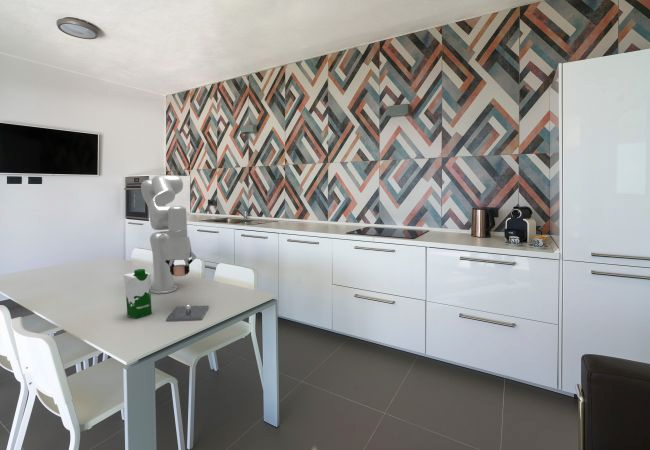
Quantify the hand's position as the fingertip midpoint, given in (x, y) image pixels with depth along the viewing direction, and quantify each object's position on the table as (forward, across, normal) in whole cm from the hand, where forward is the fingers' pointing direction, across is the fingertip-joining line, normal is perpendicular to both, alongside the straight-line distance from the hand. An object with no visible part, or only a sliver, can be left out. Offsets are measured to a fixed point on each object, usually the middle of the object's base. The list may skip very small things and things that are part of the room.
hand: (180, 273), depth 151 cm
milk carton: (+16, -16, -5) cm, 23 cm away
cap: (+1, 0, 0) cm, 1 cm away
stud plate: (+16, +5, -7) cm, 19 cm away
